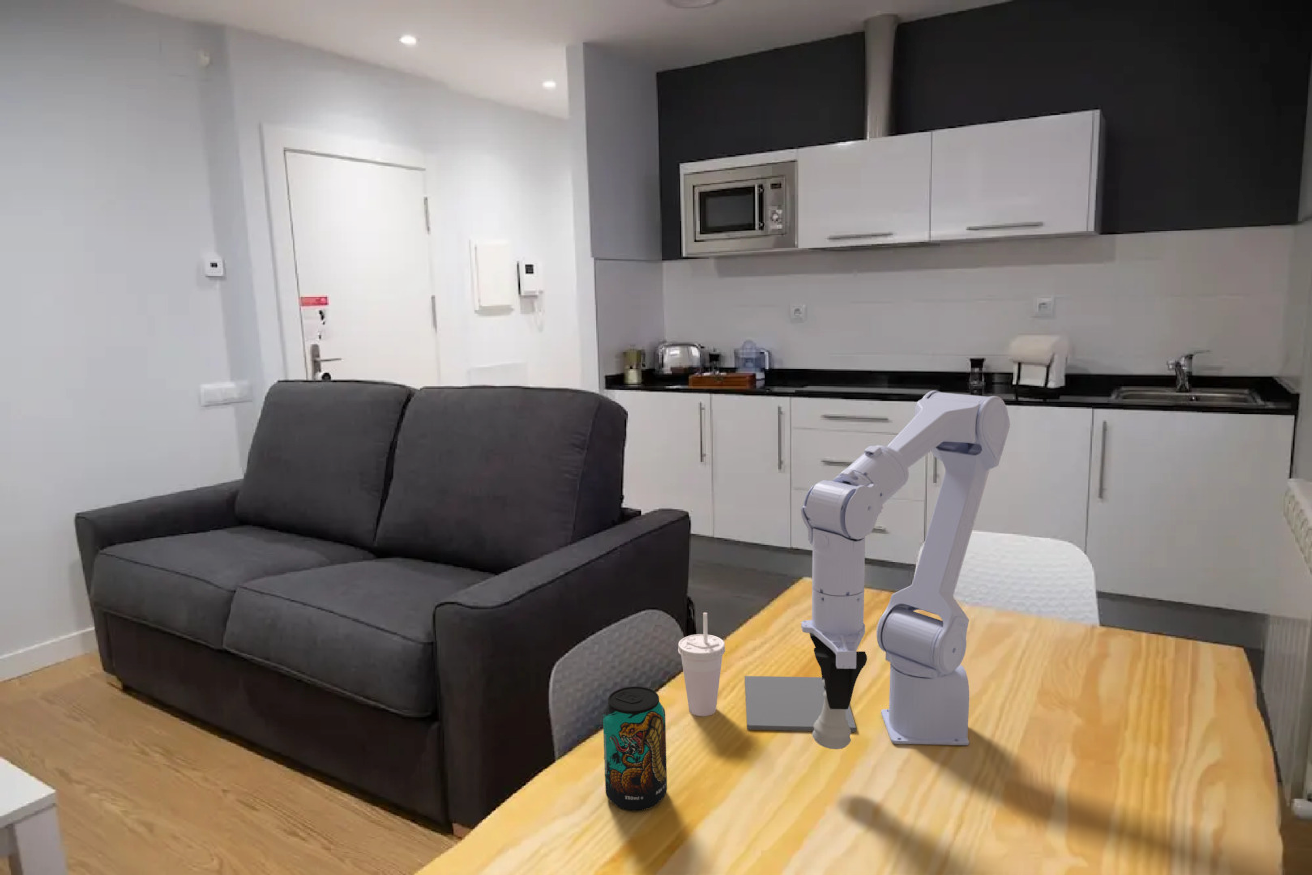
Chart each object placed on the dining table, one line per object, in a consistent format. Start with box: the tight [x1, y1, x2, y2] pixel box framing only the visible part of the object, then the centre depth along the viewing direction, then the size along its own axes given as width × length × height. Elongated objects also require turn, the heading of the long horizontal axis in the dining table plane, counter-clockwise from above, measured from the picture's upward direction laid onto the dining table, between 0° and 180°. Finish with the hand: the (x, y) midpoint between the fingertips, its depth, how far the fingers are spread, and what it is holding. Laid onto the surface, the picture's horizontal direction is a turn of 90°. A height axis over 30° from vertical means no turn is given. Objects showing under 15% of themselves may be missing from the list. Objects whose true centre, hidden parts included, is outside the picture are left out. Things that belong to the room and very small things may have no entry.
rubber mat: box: [744, 675, 857, 733], centre depth 114 cm, size 14×14×1 cm
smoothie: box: [677, 612, 726, 717], centre depth 112 cm, size 6×6×14 cm
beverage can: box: [602, 686, 668, 812], centre depth 94 cm, size 7×7×12 cm
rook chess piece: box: [811, 679, 852, 750], centre depth 95 cm, size 4×4×8 cm
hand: (836, 699), depth 95 cm, fingers closed on rook chess piece, 3 cm apart
